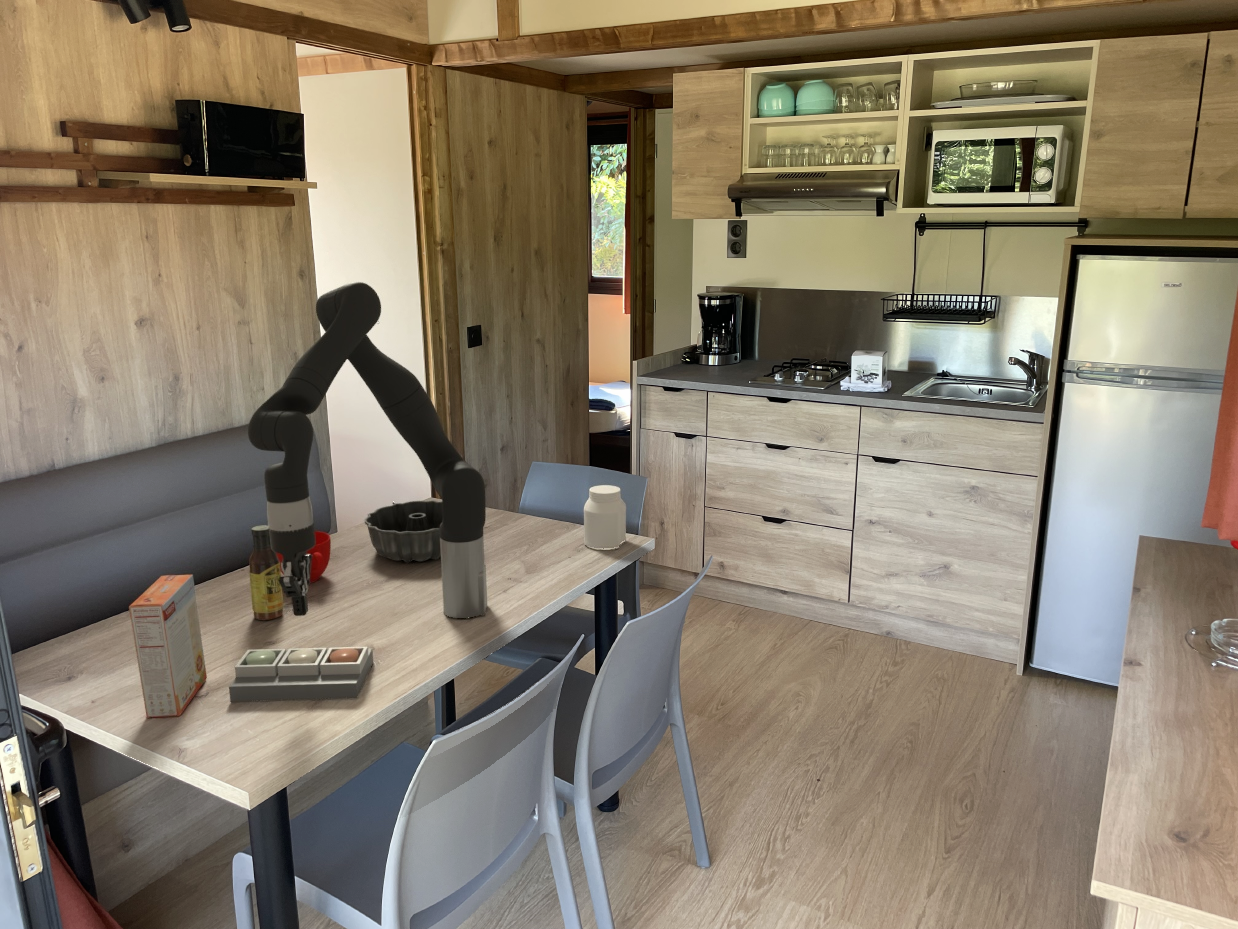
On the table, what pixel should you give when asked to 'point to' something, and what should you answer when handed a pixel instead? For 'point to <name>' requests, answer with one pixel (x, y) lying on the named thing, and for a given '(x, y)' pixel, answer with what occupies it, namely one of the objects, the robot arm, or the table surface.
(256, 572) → the sauce bottle
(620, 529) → the jar
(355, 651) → the terracotta button
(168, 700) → the cracker box
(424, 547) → the bundt pan
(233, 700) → the button panel
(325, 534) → the ceramic cup
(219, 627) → the table surface
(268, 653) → the sage button
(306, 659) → the cream button
